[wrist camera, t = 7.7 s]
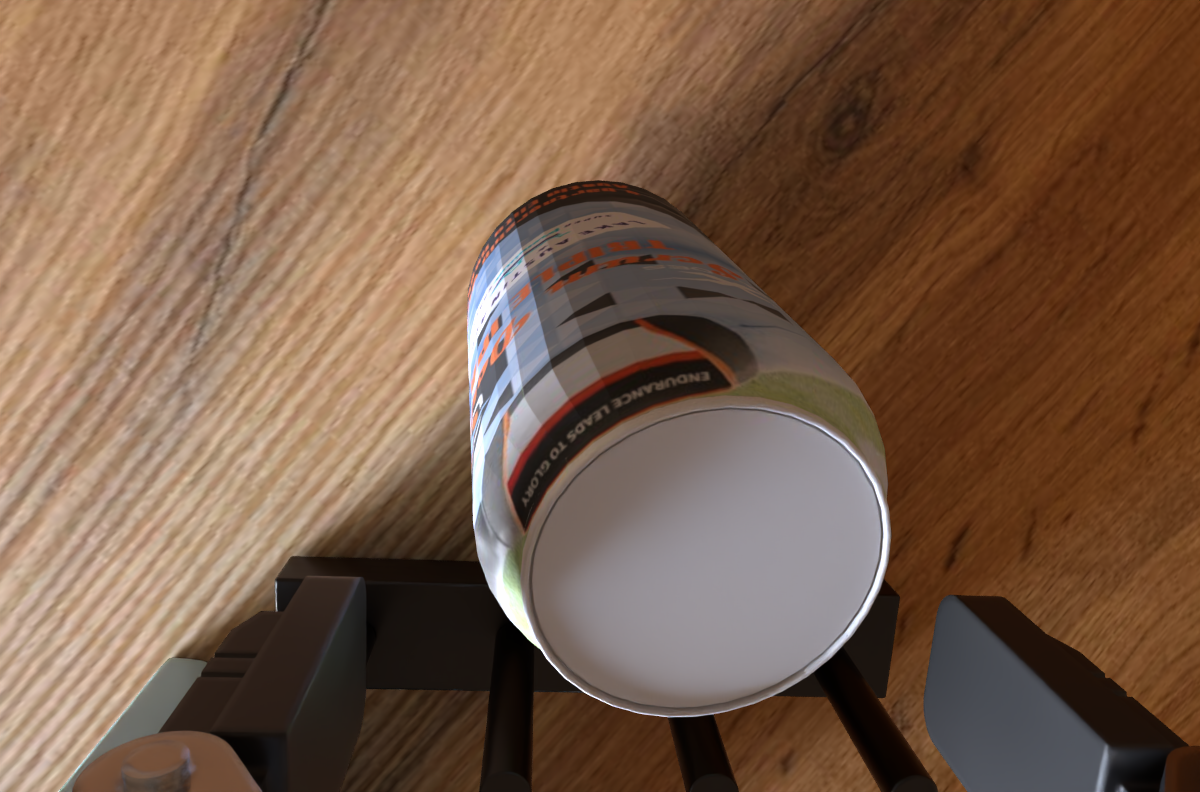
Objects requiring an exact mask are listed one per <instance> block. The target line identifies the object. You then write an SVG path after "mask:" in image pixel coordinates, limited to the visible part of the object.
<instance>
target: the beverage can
mask: <svg viewBox="0 0 1200 792" xmlns="http://www.w3.org/2000/svg"><path fill="white" fill-rule="evenodd" d="M467 328H468V362H469V396H470V430H471V464H472V499H473V524H474V531H475V539H476V546H477V553H478V557H479V560H480V563H481V566H482V569H483V571H484V574H485V577H486V580H487V582H488V585H489V588H490V590H491V591H492V593H493V594H494V596H495V598H496V599H497V601H498V603H499V604H500V606H501V607H502V609H503V611H504V612H505V614H506V615H507V617H508V618H509V619H510V620H511V621H512V622H513V624H514V625H515V626H516V627H517V628H518V629H519V630H520V631H521V632H522V633H523V634H524V635H525V636H526V637H527V638H528V639H529V641H530V642H531V643H533V644H534V645H535V646H537V647H538V648H540V649H541V650H542V652H543V654H544V655H545V657H546V659H547V660H548V661H549V662H550V663H551V664H552V665H553V666H554V667H555V668H556V669H557V670H558V671H559V673H560V674H561V675H562V676H563V677H564V678H565V679H567V680H568V681H569V682H571V683H572V684H574V685H575V686H576V687H578V688H579V689H581V690H582V691H583V692H585V693H586V694H588V695H590V696H592V697H594V698H596V699H598V700H601V701H603V702H605V703H607V704H609V705H611V706H614V707H618V708H621V709H625V710H628V711H632V712H635V713H639V714H647V715H655V716H663V717H695V716H703V715H709V714H716V713H722V712H727V711H731V710H734V709H738V708H741V707H745V706H748V705H751V704H755V703H757V702H759V701H762V700H764V699H766V698H769V697H771V696H773V695H776V694H778V693H780V692H782V691H784V690H786V689H787V688H789V687H791V686H792V685H794V684H796V683H797V682H799V681H801V680H802V679H804V678H806V677H808V676H809V675H810V674H811V673H813V672H814V671H815V670H816V669H818V668H819V667H820V666H822V665H823V664H824V663H825V662H827V661H828V660H829V659H830V658H832V657H833V655H834V654H835V653H836V652H837V651H838V650H839V649H840V648H841V647H842V646H843V645H844V644H845V643H846V642H847V641H848V640H849V639H850V638H851V637H852V635H853V634H854V633H855V631H856V630H857V628H858V627H859V626H860V624H861V623H862V621H863V620H864V619H865V617H866V616H867V614H868V613H869V611H870V609H871V607H872V605H873V603H874V601H875V599H876V597H877V595H878V593H879V591H880V589H881V585H882V582H883V579H884V575H885V572H886V569H887V565H888V562H889V553H890V544H891V526H890V515H889V507H888V504H887V501H886V499H887V489H888V478H887V468H886V458H885V449H884V445H883V442H882V439H881V436H880V432H879V429H878V426H877V423H876V420H875V416H874V414H873V412H872V411H871V409H870V407H869V405H868V404H867V402H866V400H865V398H864V397H863V395H862V393H861V391H860V390H859V388H858V386H857V385H856V383H855V382H854V381H853V380H852V379H851V378H850V377H849V376H848V374H847V373H846V372H845V371H844V370H843V369H842V368H841V367H840V365H839V364H838V363H837V362H836V361H835V360H834V359H833V358H832V357H831V356H830V355H829V354H828V353H827V352H826V351H825V350H824V349H823V348H822V347H821V346H820V345H819V344H818V343H817V342H816V341H815V340H814V339H812V338H811V337H810V336H809V335H808V334H807V333H806V332H805V331H804V330H803V329H802V328H801V327H800V326H799V325H798V324H797V323H796V322H795V321H794V320H793V319H792V318H791V317H790V316H789V315H788V314H787V313H786V312H784V311H783V310H782V309H781V308H780V307H779V306H778V305H777V304H776V303H775V302H774V301H773V300H772V299H771V298H770V297H769V296H768V295H767V294H766V293H765V292H764V291H763V290H762V289H761V288H760V287H759V286H758V285H756V284H755V283H754V282H753V281H752V280H751V279H750V278H749V277H748V276H747V275H746V274H745V273H744V272H743V271H742V270H741V269H740V268H739V267H738V266H737V265H736V264H735V263H734V262H733V261H732V260H731V259H730V258H728V257H727V256H726V255H725V254H724V253H723V252H722V251H721V250H720V249H719V248H718V247H717V246H716V245H715V244H714V243H713V242H712V241H711V240H710V239H709V238H708V237H707V236H706V235H705V234H704V233H703V232H702V231H701V230H699V229H698V228H697V227H696V226H695V225H694V224H693V223H692V222H691V221H690V220H689V219H688V218H687V217H686V216H685V215H684V214H683V213H682V212H681V211H679V210H678V209H677V208H675V207H674V206H673V205H671V204H670V203H669V202H667V201H666V200H665V199H663V198H661V197H659V196H657V195H655V194H653V193H651V192H649V191H647V190H645V189H643V188H639V187H636V186H632V185H629V184H625V183H621V182H610V181H600V180H598V181H586V182H575V183H571V184H568V185H564V186H560V187H556V188H553V189H551V190H549V191H546V192H544V193H542V194H540V195H538V196H536V197H534V198H531V199H530V200H529V201H527V202H526V203H524V204H523V205H521V206H520V207H519V208H517V209H516V210H514V211H513V212H512V213H511V214H510V215H509V216H508V217H507V218H506V219H505V220H504V221H503V222H502V223H501V224H500V225H499V226H498V227H497V228H496V229H495V231H494V232H493V233H492V235H491V236H490V238H489V239H488V241H487V242H486V244H485V245H484V246H483V248H482V251H481V253H480V255H479V257H478V259H477V262H476V264H475V266H474V268H473V272H472V276H471V280H470V284H469V288H468V303H467Z"/></svg>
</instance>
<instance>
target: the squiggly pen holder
mask: <svg viewBox="0 0 1200 792" xmlns="http://www.w3.org/2000/svg"><path fill="white" fill-rule="evenodd" d="M206 665H207V662H204V661H202V660H194V659H186V658H169V659H168V660H167V661H166V662H165V663H164V664H163V665H162V666H161V667H160V668H159V669H158V671H157V672H156V673H155V674H154V675H153V677H152V678H151V679H150V680H149V681H148V683H147V684H146V685H145V686H144V688H143V689H142V690H141V691H140V692H139V694H138V695H137V696H136V697H135V699H134V700H133V701H132V702H131V703H130V705H129V706H128V707H127V708H126V710H125V711H124V712H123V713H122V714H121V716H120V717H119V718H118V719H117V721H116V722H115V723H114V724H113V726H112V727H111V728H110V729H109V730H108V732H107V733H106V734H105V735H104V737H103V738H102V739H101V740H100V741H99V743H98V744H97V745H96V746H95V748H94V749H93V750H92V751H91V752H90V754H89V755H88V756H87V757H86V759H85V760H84V761H83V762H82V763H81V765H80V766H79V767H78V768H77V770H76V771H75V772H74V773H73V775H72V776H71V777H70V778H69V779H68V781H67V782H66V783H65V784H64V786H63V787H62V788H61V789H60V790H59V792H72V788H73V786H74V783H75V781H76V779H77V778H78V777H79V775H80V774H81V772H82V771H83V770H84V769H85V768H86V767H87V766H88V765H89V764H90V763H92V762H93V761H94V760H96V759H97V758H98V757H100V756H101V755H103V754H104V753H106V752H108V751H109V750H111V749H113V748H115V747H117V746H119V745H121V744H124V743H126V742H129V741H132V740H134V739H137V738H140V737H144V736H148V735H152V734H157V733H158V732H159V731H160V729H161V728H162V726H163V725H164V724H165V722H166V721H167V719H168V718H169V717H170V715H171V714H172V712H173V711H174V710H175V708H176V707H177V705H178V704H179V703H180V701H181V700H182V698H183V697H184V696H185V694H186V693H187V691H188V690H189V689H190V687H191V686H192V684H193V683H194V682H195V680H196V679H197V677H201V672H202V670H203V669H204V668H205V666H206Z"/></svg>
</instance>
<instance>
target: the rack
mask: <svg viewBox="0 0 1200 792" xmlns="http://www.w3.org/2000/svg"><path fill="white" fill-rule="evenodd" d="M306 576H334V577H363V578H364V580H365V585H366V689H406V690H462V691H490V695H489V704H488V713H487V723H486V732H485V742H484V751H483V760H482V770H481V779H480V789H479V792H532V759H533V701H534V692H573V693H585V692H583V691H582V690H581V689H579V688H578V687H576V686H575V685H574V684H572V683H571V682H569V681H568V680H567V679H565V678H564V677H563V676H562V675H561V674H560V673H559V671H558V670H557V669H556V668H555V667H554V666H553V665H552V664H551V663H550V662H549V661H548V660H547V659H546V657H545V655H544V654H543V652H542V650H541V649H540V648H538V647H537V646H535V645H534V644H533V643H531V642H530V641H529V639H528V638H527V637H526V636H525V635H524V634H523V633H522V632H521V631H520V630H519V629H518V628H517V627H516V626H515V625H514V624H513V622H512V621H511V620H510V619H509V618H508V617H507V615H506V614H505V612H504V611H503V609H502V607H501V606H500V604H499V603H498V601H497V599H496V598H495V596H494V594H493V593H492V591H491V590H490V588H489V585H488V582H487V580H486V577H485V574H484V571H483V569H482V566H481V563H480V562H472V561H438V560H403V559H369V558H335V557H301V556H293V557H291V558H290V559H289V560H288V562H287V563H286V565H285V566H284V568H283V569H282V570H281V572H280V573H279V575H278V576H277V577H276V579H275V611H276V612H284V610H285V609H286V607H287V606H288V604H289V602H290V601H291V599H292V597H293V596H294V594H295V593H296V591H297V589H298V588H299V586H300V585H301V583H302V581H303V580H304V578H305V577H306ZM899 601H900V597H899V595H898V594H897V592H896V591H895V590H894V589H893V588H892V587H891V586H890V585H889V584H888V583H887V581H886V580H885V579H883V582H882V585H881V589H880V591H879V593H878V595H877V597H876V599H875V601H874V603H873V605H872V607H871V609H870V611H869V613H868V614H867V616H866V617H865V619H864V620H863V621H862V623H861V624H860V626H859V627H858V628H857V630H856V631H855V633H854V634H853V635H852V637H851V638H850V639H849V640H848V641H847V642H846V643H845V644H844V645H843V646H842V647H841V648H840V649H839V650H838V651H837V652H836V653H835V654H834V655H833V657H832V658H830V659H829V660H828V661H827V662H825V663H824V664H823V665H822V666H820V667H819V668H818V669H816V670H815V671H814V672H813V673H811V674H810V675H809V676H808V677H806V678H804V679H802V680H801V681H799V682H797V683H796V684H794V685H792V686H791V687H789V688H787V689H786V690H784V691H782V692H780V693H778V694H776V695H773V696H795V697H827V698H828V700H829V701H830V703H831V705H832V707H833V708H834V710H835V712H836V714H837V715H838V717H839V719H840V721H841V722H842V724H843V726H844V727H845V729H846V731H847V733H848V734H849V736H850V738H851V740H852V741H853V743H854V745H855V747H856V748H857V750H858V752H859V754H860V755H861V757H862V759H863V761H864V762H865V764H866V766H867V768H868V769H869V771H870V773H871V775H872V776H873V778H874V780H875V782H876V783H877V785H878V787H879V789H880V790H881V792H938V789H937V786H936V784H935V782H934V781H933V779H932V778H931V776H930V775H929V774H928V772H927V771H926V769H925V768H924V766H923V765H922V763H921V762H920V760H919V759H918V757H917V756H916V754H915V753H914V751H913V750H912V748H911V747H910V745H909V744H908V742H907V741H906V739H905V738H904V736H903V735H902V733H901V732H900V730H899V729H898V728H897V726H896V725H895V723H894V722H893V720H892V719H891V717H890V716H889V714H888V713H887V711H886V710H885V708H884V707H883V705H882V704H881V702H880V701H879V699H878V698H885V697H886V691H887V684H888V677H889V670H890V663H891V656H892V649H893V642H894V635H895V629H896V622H897V615H898V608H899ZM668 720H669V725H670V729H671V733H672V737H673V741H674V745H675V749H676V753H677V757H678V762H679V766H680V770H681V774H682V778H683V782H684V786H685V790H686V792H739V790H738V786H737V783H736V780H735V777H734V774H733V771H732V768H731V765H730V762H729V759H728V756H727V753H726V750H725V747H724V744H723V741H722V738H721V735H720V732H719V729H718V726H717V723H716V720H715V717H714V714H709V715H703V716H695V717H668Z"/></svg>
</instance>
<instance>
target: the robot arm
mask: <svg viewBox="0 0 1200 792" xmlns="http://www.w3.org/2000/svg"><path fill="white" fill-rule="evenodd" d="M365 698H366V585H365V580H364V578H363V577H334V576H306V577H305V578H304V580H303V581H302V583H301V585H300V586H299V588H298V589H297V591H296V593H295V594H294V596H293V597H292V599H291V601H290V602H289V604H288V606H287V607H286V609H285V610H284V612H276V611H261V612H259V613H258V614H256V615H254V616H253V617H251V618H250V619H248V620H247V621H245V622H243V623H242V624H240V625H239V626H237V627H235V628H234V629H232V630H231V631H230V632H229V634H228V635H227V637H226V638H225V639H224V641H223V642H222V644H221V645H220V646H219V648H218V649H217V651H216V652H215V657H214V658H213V657H212V658H211V659H210V661H209V662H208V663H207V665H206V666H205V668H204V669H203V670H202V672H201V677H197V679H196V680H195V682H194V683H193V684H192V686H191V687H190V689H189V690H188V691H187V693H186V694H185V696H184V697H183V698H182V700H181V701H180V703H179V704H178V705H177V707H176V708H175V710H174V711H173V712H172V714H171V715H170V717H169V718H168V719H167V721H166V722H165V724H164V725H163V726H162V728H161V729H160V731H159V732H158V733H157V734H152V735H148V736H144V737H140V738H137V739H134V740H132V741H129V742H126V743H124V744H121V745H119V746H117V747H115V748H113V749H111V750H109V751H108V752H106V753H104V754H103V755H101V756H100V757H98V758H97V759H96V760H94V761H93V762H92V763H90V764H89V765H88V766H87V767H86V768H85V769H84V770H83V771H82V772H81V774H80V775H79V777H78V778H77V779H76V781H75V783H74V786H73V788H72V792H340V789H341V786H342V783H343V780H344V777H345V774H346V771H347V768H348V765H349V763H350V760H351V757H352V754H353V751H354V748H355V745H356V742H357V739H358V736H359V733H360V729H361V725H362V720H363V714H364V707H365ZM924 716H925V722H926V726H927V730H928V733H929V736H930V738H931V740H932V742H933V743H934V745H935V747H936V748H937V749H938V751H939V752H940V754H941V755H942V756H943V758H944V759H945V761H946V762H947V763H948V765H949V766H950V768H951V769H952V771H953V772H954V773H955V775H956V776H957V778H958V779H959V780H960V782H961V783H962V785H963V786H964V787H965V789H966V790H967V792H1200V746H1189V745H1188V744H1187V743H1186V742H1184V741H1183V740H1182V739H1181V738H1180V737H1179V736H1177V735H1176V734H1175V733H1174V732H1173V731H1171V730H1170V729H1169V728H1168V727H1167V726H1166V725H1164V724H1163V723H1162V722H1161V721H1160V720H1159V719H1157V718H1156V717H1155V716H1154V715H1153V714H1152V713H1150V712H1149V711H1148V710H1147V709H1146V708H1145V707H1143V706H1142V705H1141V704H1140V703H1139V702H1138V701H1136V700H1135V699H1134V698H1133V697H1127V692H1126V691H1125V690H1124V689H1122V688H1121V687H1120V686H1119V685H1118V684H1117V683H1115V682H1114V681H1113V680H1112V679H1111V678H1105V673H1104V672H1103V671H1101V670H1100V669H1099V668H1098V667H1097V666H1096V665H1094V664H1093V663H1092V662H1091V661H1090V660H1089V659H1087V658H1086V657H1085V656H1084V655H1083V654H1082V653H1080V652H1079V651H1077V650H1075V649H1074V648H1072V647H1070V646H1068V645H1066V644H1064V643H1062V642H1060V641H1058V640H1057V639H1055V638H1053V637H1051V636H1049V635H1047V634H1046V633H1045V632H1043V631H1042V630H1041V629H1040V628H1039V627H1038V626H1037V625H1035V624H1034V623H1033V622H1032V621H1031V620H1030V619H1029V618H1028V617H1026V616H1025V615H1024V614H1023V613H1022V612H1021V611H1020V610H1018V609H1017V608H1016V607H1015V606H1014V605H1013V604H1012V603H1010V602H1009V601H1008V600H1007V599H1005V598H1004V597H1001V596H967V595H948V596H946V597H945V598H943V600H942V601H941V603H940V605H939V608H938V611H937V616H936V623H935V629H934V635H933V641H932V648H931V654H930V660H929V667H928V673H927V679H926V685H925V692H924Z"/></svg>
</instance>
